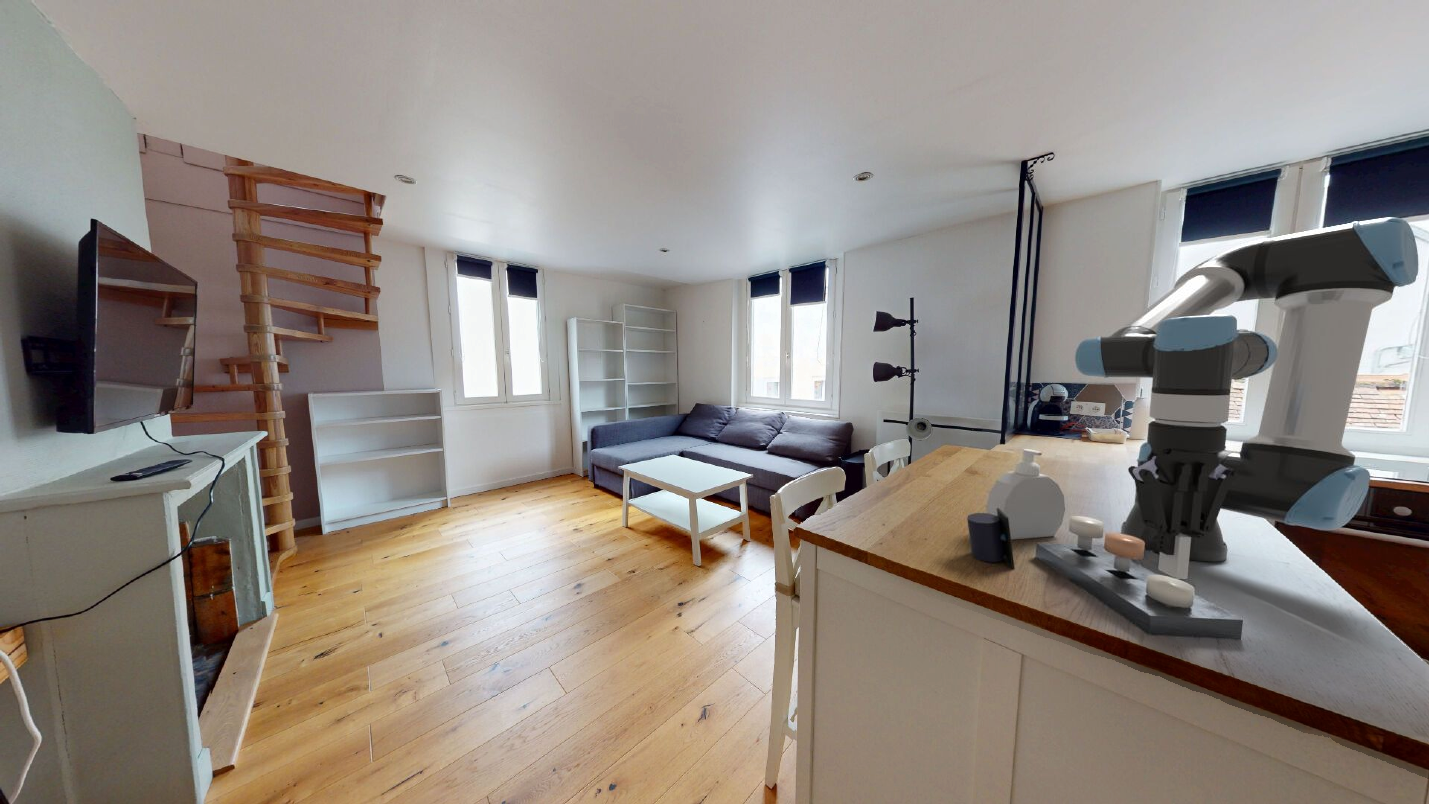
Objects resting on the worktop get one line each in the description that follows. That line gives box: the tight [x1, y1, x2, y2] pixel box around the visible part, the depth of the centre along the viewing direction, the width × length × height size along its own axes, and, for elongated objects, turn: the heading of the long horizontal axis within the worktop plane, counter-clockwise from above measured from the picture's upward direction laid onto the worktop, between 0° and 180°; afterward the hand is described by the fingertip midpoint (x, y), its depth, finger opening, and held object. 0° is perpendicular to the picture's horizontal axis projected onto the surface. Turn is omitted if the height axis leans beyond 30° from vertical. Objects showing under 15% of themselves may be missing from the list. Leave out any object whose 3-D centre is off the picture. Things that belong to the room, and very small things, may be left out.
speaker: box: [966, 508, 1015, 570], centre depth 82 cm, size 8×6×10 cm
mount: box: [1035, 542, 1244, 640], centre depth 70 cm, size 12×24×3 cm, turn 174°
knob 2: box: [1146, 574, 1195, 608], centre depth 62 cm, size 5×5×6 cm
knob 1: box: [1068, 515, 1105, 550], centre depth 77 cm, size 5×5×6 cm
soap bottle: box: [986, 448, 1066, 541], centre depth 92 cm, size 16×5×20 cm, turn 98°
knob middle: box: [1103, 532, 1145, 572], centre depth 69 cm, size 5×5×6 cm
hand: (1172, 573), depth 62 cm, fingers closed
